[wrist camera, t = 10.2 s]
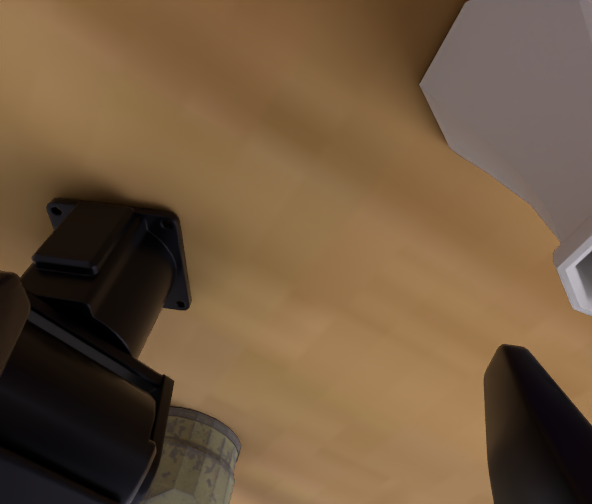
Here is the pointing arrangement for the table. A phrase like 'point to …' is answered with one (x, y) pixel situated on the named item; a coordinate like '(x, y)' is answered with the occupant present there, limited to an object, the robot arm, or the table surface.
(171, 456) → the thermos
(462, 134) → the flask
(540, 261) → the table surface
